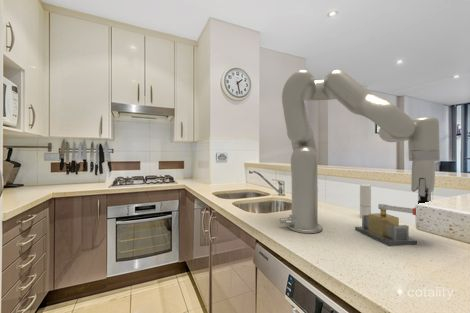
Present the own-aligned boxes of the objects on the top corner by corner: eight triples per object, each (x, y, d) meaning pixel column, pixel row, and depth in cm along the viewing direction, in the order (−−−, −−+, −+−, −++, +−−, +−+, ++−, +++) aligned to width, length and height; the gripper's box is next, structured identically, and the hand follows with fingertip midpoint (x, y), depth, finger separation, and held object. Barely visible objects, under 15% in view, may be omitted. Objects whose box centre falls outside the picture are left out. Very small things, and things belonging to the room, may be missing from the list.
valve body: (388, 246, 66) (388, 216, 66) (355, 230, 81) (355, 205, 81) (417, 244, 68) (417, 214, 68) (379, 228, 82) (378, 204, 82)
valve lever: (377, 209, 74) (377, 204, 74) (379, 208, 76) (379, 203, 76) (431, 217, 64) (431, 211, 64) (432, 215, 66) (432, 209, 66)
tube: (365, 219, 95) (365, 185, 95) (357, 217, 99) (357, 184, 99) (373, 219, 96) (373, 185, 96) (365, 216, 100) (365, 184, 100)
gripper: (412, 156, 77) (413, 208, 77) (404, 156, 67) (405, 215, 66) (441, 156, 72) (442, 211, 71) (437, 156, 61) (439, 220, 61)
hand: (424, 213), depth 69 cm, fingers closed
